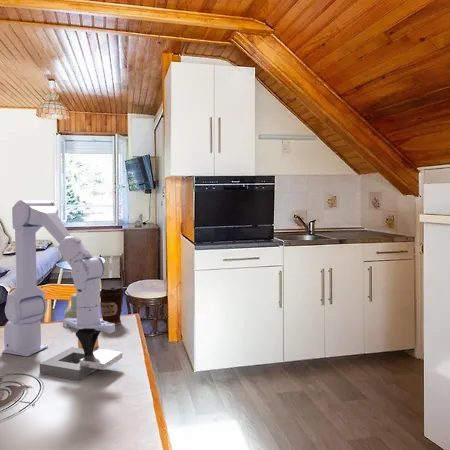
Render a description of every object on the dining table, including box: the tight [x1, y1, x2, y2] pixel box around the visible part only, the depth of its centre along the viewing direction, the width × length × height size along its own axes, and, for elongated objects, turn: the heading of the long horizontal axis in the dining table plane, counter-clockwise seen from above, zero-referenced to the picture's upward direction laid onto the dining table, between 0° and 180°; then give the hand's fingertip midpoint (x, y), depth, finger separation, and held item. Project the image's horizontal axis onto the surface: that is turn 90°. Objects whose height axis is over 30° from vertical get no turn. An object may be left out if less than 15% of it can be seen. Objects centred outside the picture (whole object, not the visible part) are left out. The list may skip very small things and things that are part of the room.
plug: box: [77, 337, 99, 349], centre depth 119 cm, size 4×4×6 cm
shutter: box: [80, 348, 123, 371], centre depth 102 cm, size 7×8×2 cm
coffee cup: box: [100, 285, 125, 326], centre depth 142 cm, size 9×8×13 cm
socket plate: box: [39, 346, 97, 381], centre depth 105 cm, size 12×12×2 cm
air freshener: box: [63, 292, 77, 319], centre depth 144 cm, size 11×8×10 cm
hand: (89, 356), depth 103 cm, fingers closed
